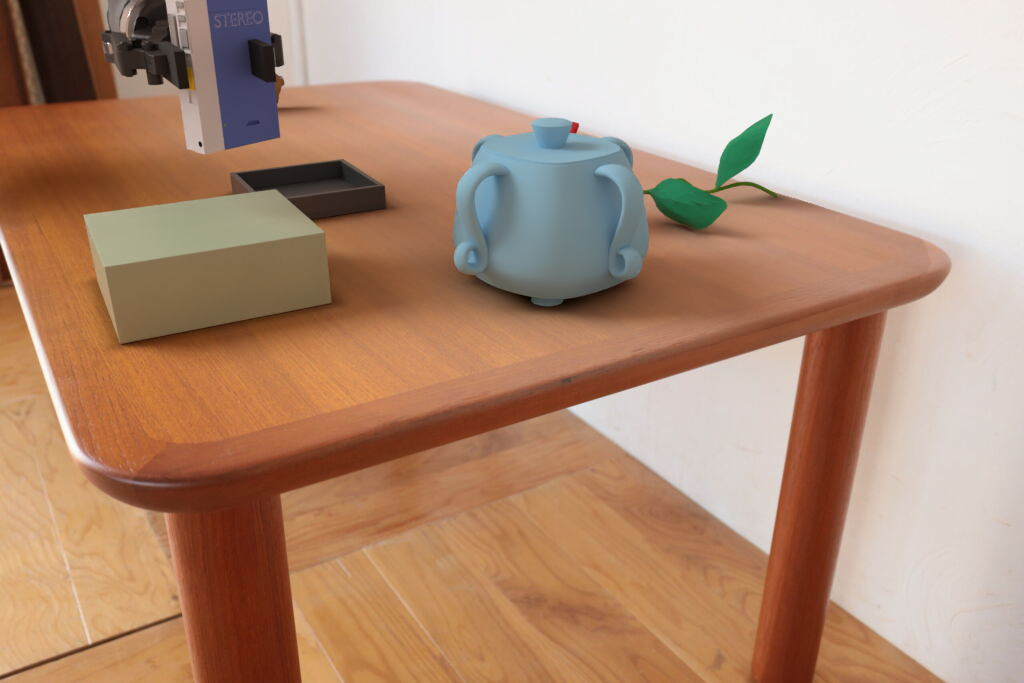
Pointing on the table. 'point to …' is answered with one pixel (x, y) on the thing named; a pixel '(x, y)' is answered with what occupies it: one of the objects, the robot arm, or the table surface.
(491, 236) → the decorative pot
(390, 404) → the table surface
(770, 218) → the table surface
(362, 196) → the tray
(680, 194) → the decorative flower
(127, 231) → the block
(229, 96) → the walkman
